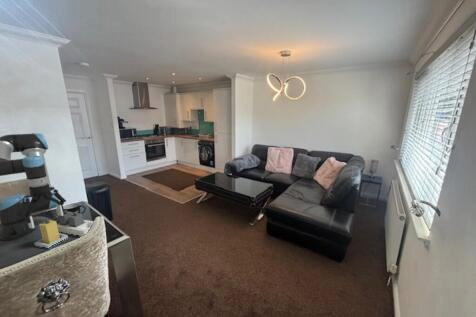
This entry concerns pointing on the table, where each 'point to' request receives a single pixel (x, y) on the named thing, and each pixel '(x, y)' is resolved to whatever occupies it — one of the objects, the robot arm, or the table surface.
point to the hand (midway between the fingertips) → (47, 221)
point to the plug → (49, 231)
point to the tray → (41, 244)
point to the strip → (75, 230)
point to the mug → (73, 208)
